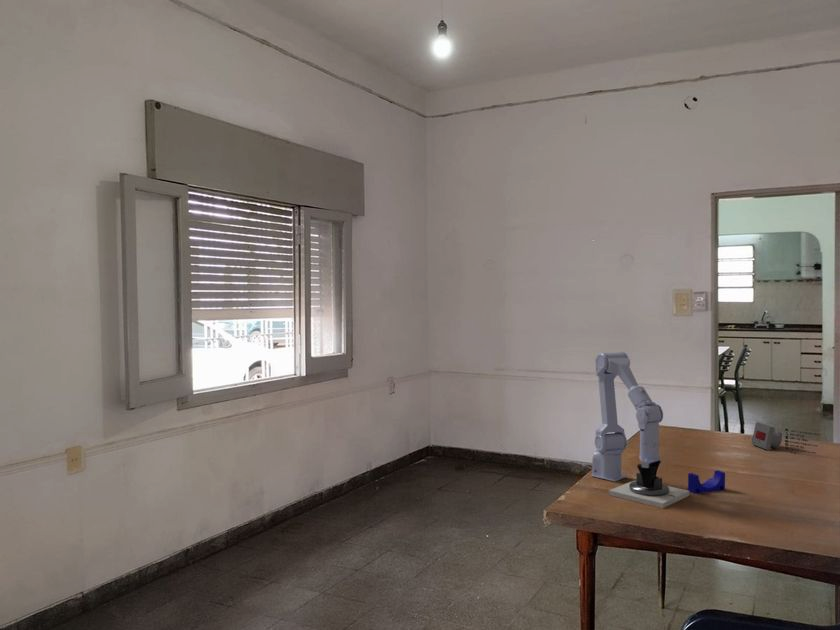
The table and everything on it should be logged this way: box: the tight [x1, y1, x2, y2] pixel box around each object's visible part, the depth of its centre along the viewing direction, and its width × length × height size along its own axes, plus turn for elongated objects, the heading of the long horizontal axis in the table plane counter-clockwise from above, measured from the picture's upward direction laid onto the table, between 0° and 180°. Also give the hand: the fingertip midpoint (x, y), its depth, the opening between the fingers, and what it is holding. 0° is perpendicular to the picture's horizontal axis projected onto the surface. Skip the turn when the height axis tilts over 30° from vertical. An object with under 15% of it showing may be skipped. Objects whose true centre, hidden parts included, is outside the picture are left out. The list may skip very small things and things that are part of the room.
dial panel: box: [608, 478, 690, 509], centre depth 206 cm, size 18×18×2 cm
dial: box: [629, 472, 669, 496], centre depth 206 cm, size 12×12×4 cm
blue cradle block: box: [687, 470, 726, 495], centre depth 211 cm, size 12×4×6 cm, turn 107°
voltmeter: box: [751, 421, 821, 455], centre depth 263 cm, size 27×11×10 cm, turn 41°
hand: (649, 485), depth 206 cm, fingers closed on dial, 5 cm apart
